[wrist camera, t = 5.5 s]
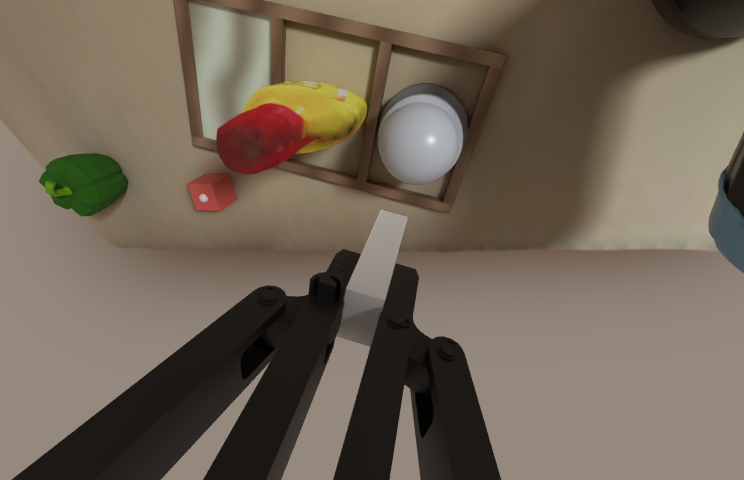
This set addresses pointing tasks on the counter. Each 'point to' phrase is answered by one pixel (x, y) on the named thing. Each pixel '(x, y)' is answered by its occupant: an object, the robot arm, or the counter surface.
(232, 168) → the bottle
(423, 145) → the dome
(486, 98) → the divided wooden frame
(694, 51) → the counter surface
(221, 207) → the die
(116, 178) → the bell pepper
